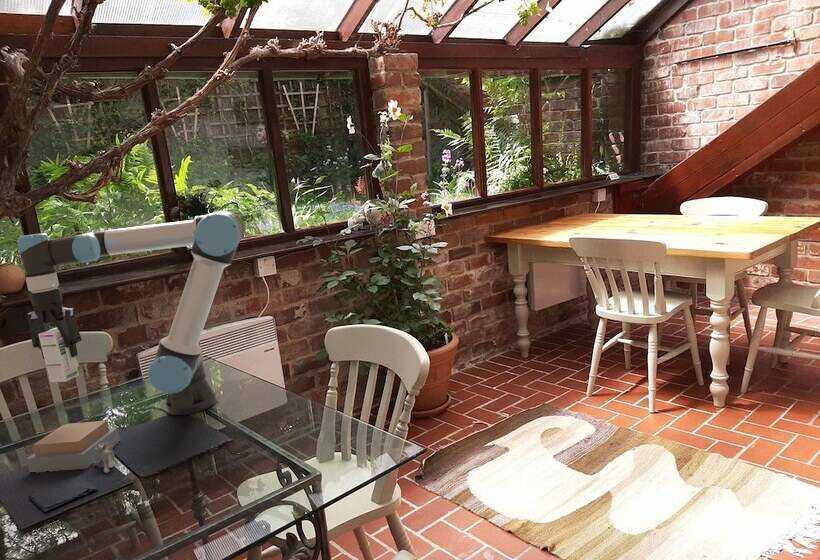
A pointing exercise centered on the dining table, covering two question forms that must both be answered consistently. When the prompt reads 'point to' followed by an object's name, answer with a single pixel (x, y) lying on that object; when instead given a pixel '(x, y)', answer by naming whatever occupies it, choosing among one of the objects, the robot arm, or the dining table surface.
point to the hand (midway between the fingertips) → (63, 368)
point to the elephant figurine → (106, 455)
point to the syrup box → (56, 356)
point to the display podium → (71, 446)
